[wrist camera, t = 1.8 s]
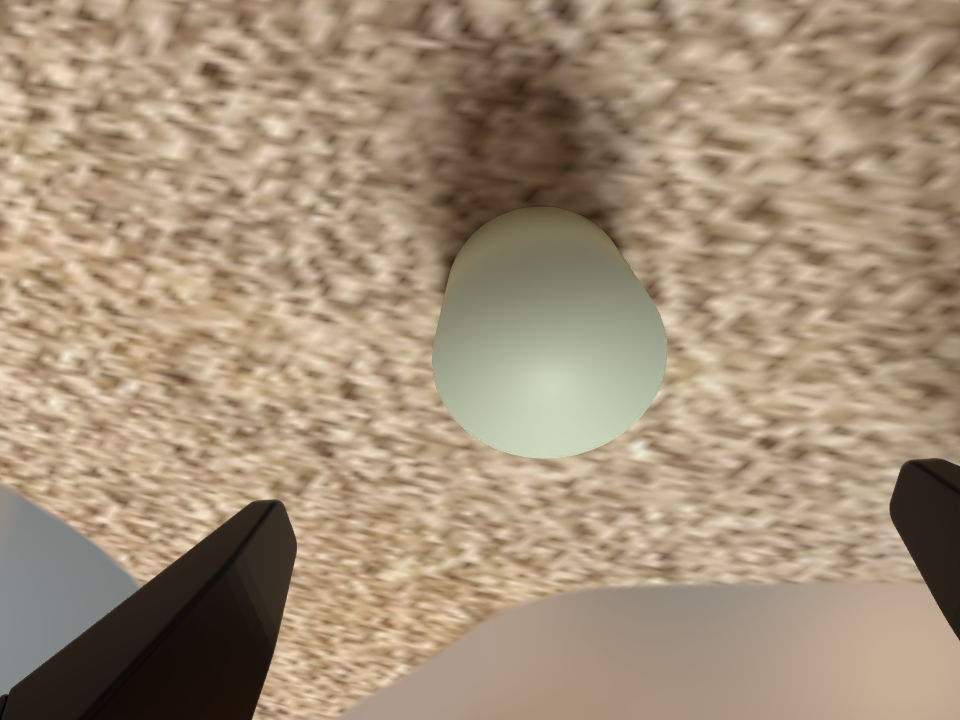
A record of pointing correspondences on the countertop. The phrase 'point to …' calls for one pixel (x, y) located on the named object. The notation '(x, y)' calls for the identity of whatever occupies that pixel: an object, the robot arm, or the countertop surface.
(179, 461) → the countertop surface
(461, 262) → the pale green short cylinder
